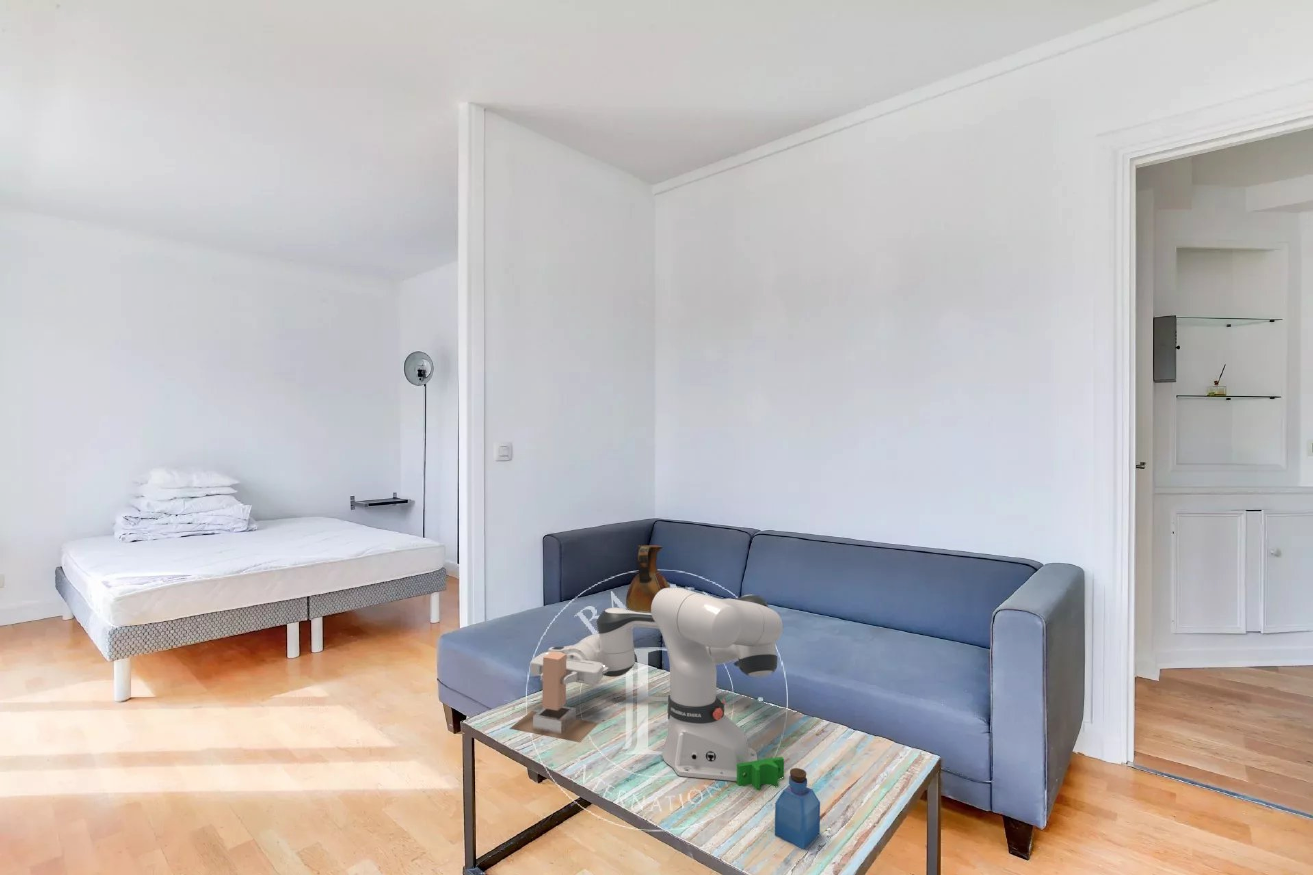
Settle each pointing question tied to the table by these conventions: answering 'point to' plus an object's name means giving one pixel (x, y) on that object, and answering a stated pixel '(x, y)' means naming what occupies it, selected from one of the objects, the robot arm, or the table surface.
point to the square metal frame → (554, 720)
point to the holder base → (572, 733)
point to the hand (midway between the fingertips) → (552, 679)
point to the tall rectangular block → (554, 681)
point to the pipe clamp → (760, 772)
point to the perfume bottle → (797, 811)
